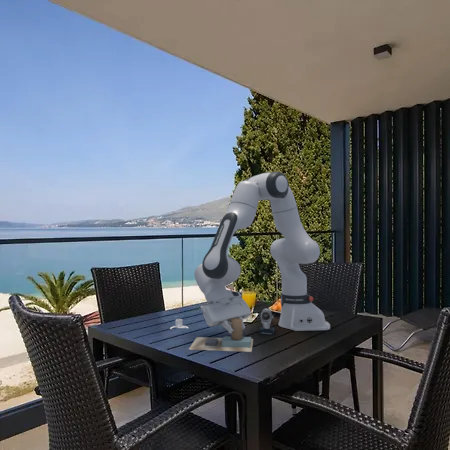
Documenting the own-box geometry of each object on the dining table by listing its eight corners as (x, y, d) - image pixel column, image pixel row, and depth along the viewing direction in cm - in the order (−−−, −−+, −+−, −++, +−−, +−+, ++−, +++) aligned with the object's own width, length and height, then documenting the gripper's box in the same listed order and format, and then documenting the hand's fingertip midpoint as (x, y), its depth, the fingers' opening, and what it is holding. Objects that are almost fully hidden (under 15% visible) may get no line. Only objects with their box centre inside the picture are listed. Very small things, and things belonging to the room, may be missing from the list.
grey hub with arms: (184, 332, 161) (184, 322, 161) (166, 331, 163) (166, 322, 163) (190, 327, 170) (190, 318, 170) (173, 326, 172) (173, 317, 172)
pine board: (253, 342, 145) (253, 338, 145) (251, 356, 130) (251, 351, 130) (196, 340, 148) (196, 337, 148) (188, 353, 133) (188, 349, 133)
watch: (258, 338, 151) (258, 310, 151) (261, 333, 159) (261, 306, 159) (273, 339, 149) (272, 311, 150) (274, 333, 157) (274, 307, 157)
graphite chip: (218, 341, 142) (218, 339, 142) (216, 345, 137) (216, 343, 137) (207, 341, 142) (207, 338, 142) (205, 345, 137) (205, 342, 137)
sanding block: (251, 342, 141) (250, 318, 141) (250, 347, 135) (250, 322, 135) (224, 341, 142) (224, 317, 142) (222, 346, 136) (222, 321, 136)
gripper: (202, 298, 136) (220, 331, 129) (242, 291, 150) (260, 321, 143) (194, 309, 140) (212, 341, 132) (234, 301, 154) (252, 330, 146)
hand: (237, 330), depth 138 cm, fingers closed on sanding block, 4 cm apart
